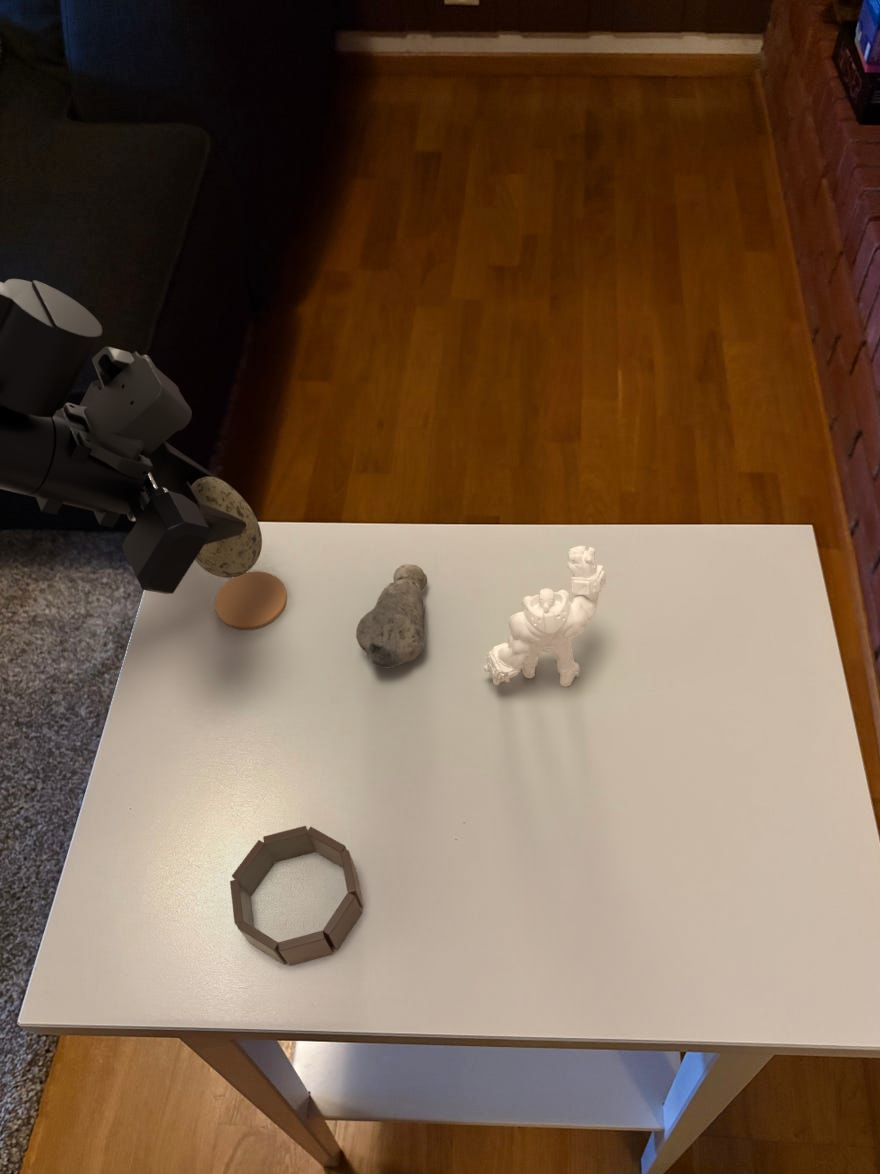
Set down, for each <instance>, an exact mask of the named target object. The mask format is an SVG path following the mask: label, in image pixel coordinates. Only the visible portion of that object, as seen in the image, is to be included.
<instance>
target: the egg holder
mask: <svg viewBox="0 0 880 1174" xmlns="http://www.w3.org/2000/svg"><path fill="white" fill-rule="evenodd" d="M262 838H263V841H262V840H260V839H258V840H257V842H256V843H255V844H254V845H253V847H252V848H251V849H250V851H249V852H248V853H247V855H246V856H245V858H243V860H242V861H241V862H240V864H239V865H238V867H237V868H236V869H235V870H234V872H233V873H232V875H231V877H232V878H233V880H230V881H229V884H230V885H229V886H230V895H231V904H232V912H233V922H234V925H235V926H236V927H237V929H238V930H239V932H240V933H241V934H242V935H243V937H244V938H245V939H246V940H247V942H248V943H249V944H250V945H252V946H253V947H255V948H256V949H258V950H259V951H261V952H263V953H264V954H265V955H267V956H269V957H270V958H272V959H273V960H275V961H277V962H278V963H280V964H282V965H284V966H285V965H286V964H288V965H289V966H293V965H296V964H297V965H298V964H301V963H305V962H308V961H312V960H315V959H318V958H322V957H325V956H329V955H332V954H334V950H336V951H338V950H339V949H340V947H341V946H342V944H343V943H344V941H345V939H346V938H347V937H348V935H349V934H350V932H351V931H352V929H353V927H354V925H355V924H356V923H357V921H358V919H360V916H361V915H362V913H363V911H362V908H364V904H363V898H362V893H361V888H360V884H359V883H360V882H359V878H358V874H357V868H356V865H355V863H354V860H353V858H352V855H351V852H350V850H349V849H347V847H346V845H345V844H343V843H342V842H340V841H338V840H336V839H334V838H332V837H331V836H329V835H327V834H325V833H323V832H322V831H320V830H318V829H316V828H314V827H313V826H309V828H307V826H306V825H303V826H299V827H295V828H291V829H288V830H283V831H280V832H276V833H272V834H269V835H264V836H263V837H262ZM314 852H315V853H317V854H319V855H321V856H322V857H324V858H326V859H327V860H329V861H330V862H333V863H334V864H336V865H338V866H339V867H341V868H342V869H343V874H344V880H345V885H346V890H347V893H346V894H345V896H344V897H343V899H342V900H341V902H340V903H339V905H338V907H337V908H336V910H335V911H334V912H333V914H332V916H331V917H330V919H329V920H328V921H327V923H326V925H325V926H324V927H323V929H322V930H319V931H315V932H312V933H308V934H306V935H301V936H297V937H294V938H290V939H286V940H282V941H277V940H275V939H274V938H272V937H270V936H269V935H267V934H266V933H264V932H262V931H260V930H259V929H257V928H256V927H255V922H254V915H253V907H252V899H251V896H252V895H253V894H254V892H255V890H256V889H257V888H258V886H259V885H260V884H261V883H262V881H263V879H264V878H265V877H266V876H267V874H268V873H269V871H270V870H271V868H272V867H273V866H274V864H275V863H277V862H281V861H285V860H287V859H288V860H289V859H291V858H292V859H293V858H295V857H296V858H297V857H300V856H303V855H307V854H311V853H314Z"/></svg>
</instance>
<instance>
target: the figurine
mask: <svg viewBox="0 0 880 1174" xmlns="http://www.w3.org/2000/svg"><path fill="white" fill-rule="evenodd" d="M596 552H597V550H596V548H594V547H592V546H590V547H589V548H588V549H587V548H586V546H585V545H577V546H574V547H570V549H569V550H568V552H567V558H568V561H567V562H566V568H567V569H568V570H569V572H570V573H571V574H572V575H571V577H570V578H571V582H570V583H571V585H570V586H571V589H572V595H573V597H574V598H573V599H572V601H571V600H569V599H570V593H569V592H568V591H567V590H565V589H560V590H558V591H554V590H553V589H551V588H549V587H545V588H542V589H541V590H540V591H539V593H537V594H535V595H533V596H532V595H526V596H525V597H524V598H523V599H522V601H521V604H522V606H523V611H519V612H516V613H514V614H512V615H511V616H510V618H509V620H508V626H509V629H510V632H509V634H508V637H507V642H502V643H501V644H500V643H499V644H498V645H495V646H493V647H492V648H491V650H489V651H488V652H487V653H486V658H485V661H486V662H485V663H486V664H485V665H484V666H483V671H485V672H487V673H489V675H490V676H491V677H492V684H493V685H495V686H499V685H500V683H501V682H505V683H507V684H508V683H510V682H511V680H510V679H511V678H513V677H517V675H518V674H519V673H520V671H521V672H522V675H523V677H524V678H526V679H533V678H534V677H535V675H536V667H537V666H538V664H539V663H538V662H539V656H540V654H541V653H542V652H544V653H547V654H548V653H552V654H554V655H555V658H556V664H557V672H558V673H559V674H560V675H559V684H560V685H561V687H565V688H566V687H569V686H571V685H572V683H573V681H574V679H575V677H576V678H578V677H579V675H580V665H579V663H577V661H576V662H575V661H574V653H573V650H572V644H571V642H570V639H572V638H573V637H576V636H577V635H581V633H583V632H585V630H586V626H587V623H588V622H589V621H591V620H592V619H593V618H594V617H595V614H596V611H597V606H598V601H599V597H600V592H601V591H602V590H603V589H604V586H605V584H606V580H607V573H606V570H605V569H604V565H602V564H598V562H597V560H596V556H595V554H596Z"/></svg>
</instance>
